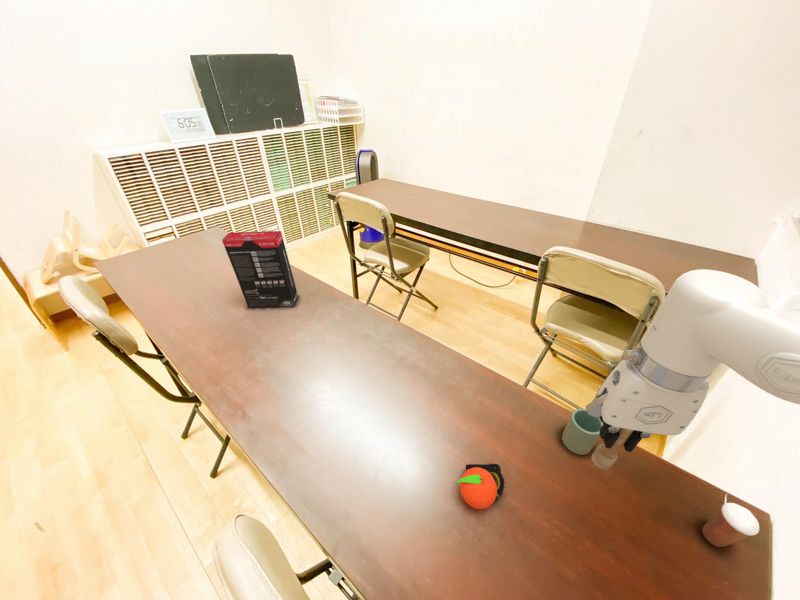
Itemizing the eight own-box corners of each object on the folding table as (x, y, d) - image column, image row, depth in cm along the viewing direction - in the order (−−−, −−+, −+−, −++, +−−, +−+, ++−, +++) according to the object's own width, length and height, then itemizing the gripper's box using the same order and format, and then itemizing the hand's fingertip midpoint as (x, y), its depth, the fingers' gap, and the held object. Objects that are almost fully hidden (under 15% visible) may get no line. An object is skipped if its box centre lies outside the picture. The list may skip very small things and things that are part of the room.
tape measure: (497, 469, 67) (500, 460, 65) (505, 506, 62) (508, 497, 60) (465, 469, 68) (466, 460, 65) (469, 505, 62) (471, 497, 60)
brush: (615, 464, 55) (645, 424, 48) (603, 473, 54) (632, 433, 47) (599, 449, 57) (625, 409, 50) (587, 457, 56) (613, 417, 49)
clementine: (454, 514, 61) (457, 498, 57) (451, 476, 66) (454, 459, 62) (497, 516, 60) (503, 500, 56) (490, 477, 66) (496, 460, 62)
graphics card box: (300, 296, 120) (281, 228, 104) (295, 307, 114) (275, 237, 98) (254, 298, 120) (228, 230, 104) (247, 310, 114) (219, 240, 98)
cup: (597, 446, 70) (610, 426, 66) (578, 459, 68) (590, 439, 64) (574, 424, 75) (584, 404, 70) (555, 436, 73) (565, 415, 68)
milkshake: (704, 513, 60) (735, 488, 54) (736, 546, 56) (774, 523, 50) (686, 522, 59) (716, 498, 53) (717, 556, 55) (754, 535, 49)
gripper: (608, 376, 39) (565, 454, 50) (764, 398, 36) (682, 475, 47) (592, 335, 45) (557, 412, 56) (726, 350, 42) (661, 429, 53)
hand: (615, 440), depth 52 cm, fingers closed on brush, 2 cm apart
